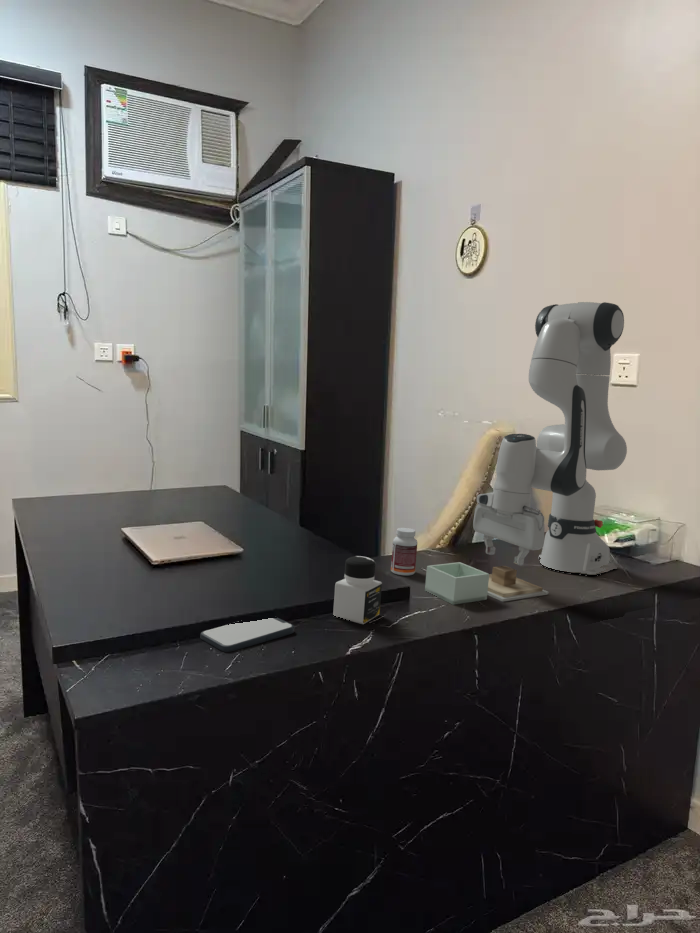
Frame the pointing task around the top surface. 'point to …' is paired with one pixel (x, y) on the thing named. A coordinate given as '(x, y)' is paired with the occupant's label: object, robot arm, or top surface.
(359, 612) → the medicine bottle
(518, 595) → the mat
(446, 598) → the pale green storage bin
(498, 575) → the lid
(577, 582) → the top surface
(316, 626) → the top surface
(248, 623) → the phone case
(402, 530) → the pill bottle
